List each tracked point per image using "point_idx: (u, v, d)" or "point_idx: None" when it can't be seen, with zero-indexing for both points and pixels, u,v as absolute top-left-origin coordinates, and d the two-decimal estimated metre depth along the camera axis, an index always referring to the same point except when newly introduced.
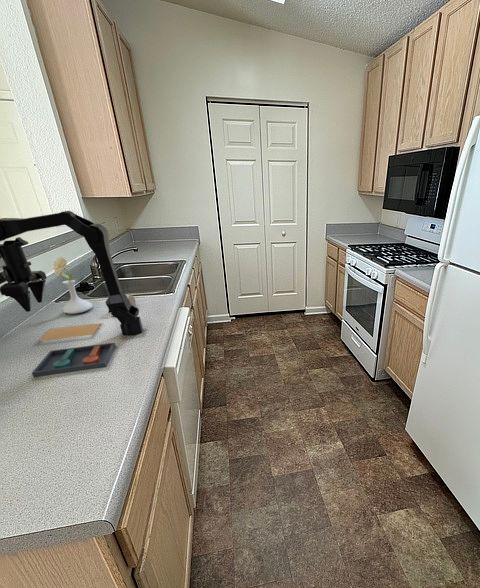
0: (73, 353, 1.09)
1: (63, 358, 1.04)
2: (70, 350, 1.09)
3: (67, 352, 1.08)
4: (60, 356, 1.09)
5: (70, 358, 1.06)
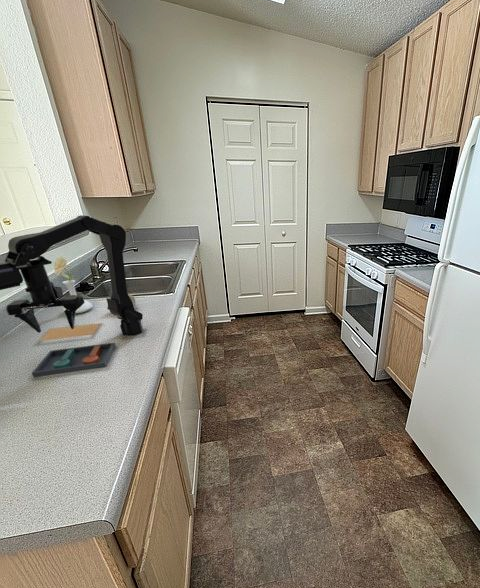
0: (73, 353, 1.09)
1: (63, 358, 1.04)
2: (70, 350, 1.09)
3: (67, 352, 1.08)
4: (60, 356, 1.09)
5: (70, 358, 1.06)
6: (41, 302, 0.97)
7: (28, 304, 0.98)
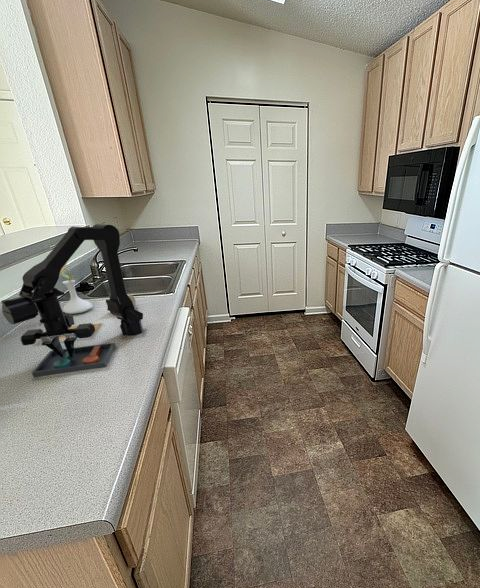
0: (73, 353, 1.09)
1: (63, 358, 1.04)
2: None
3: (67, 352, 1.08)
4: (60, 356, 1.09)
5: (70, 358, 1.06)
6: (54, 332, 1.00)
7: (41, 334, 1.02)
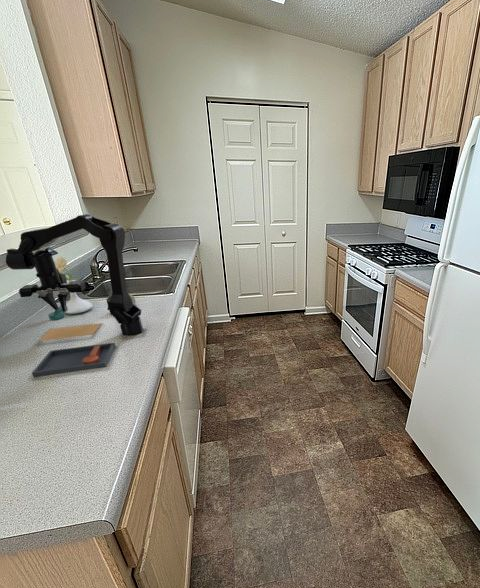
0: None
1: (57, 310, 1.17)
2: None
3: (60, 307, 1.21)
4: (60, 356, 1.09)
5: (63, 311, 1.20)
6: (49, 286, 1.14)
7: (37, 288, 1.15)
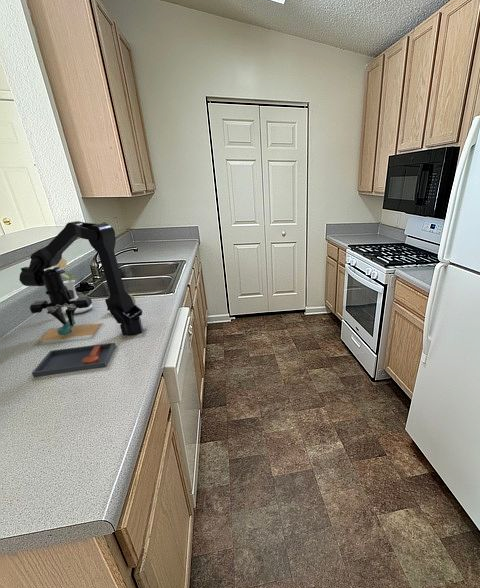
0: None
1: (65, 325, 1.24)
2: None
3: (68, 321, 1.28)
4: (60, 356, 1.09)
5: (71, 326, 1.26)
6: (58, 302, 1.20)
7: (47, 304, 1.22)
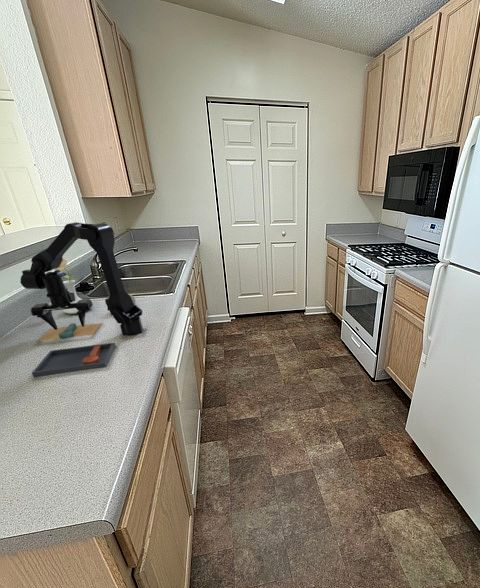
0: (75, 326, 1.30)
1: (66, 329, 1.25)
2: (72, 324, 1.30)
3: (70, 325, 1.28)
4: (60, 356, 1.09)
5: (72, 330, 1.27)
6: (58, 305, 1.21)
7: (48, 307, 1.22)
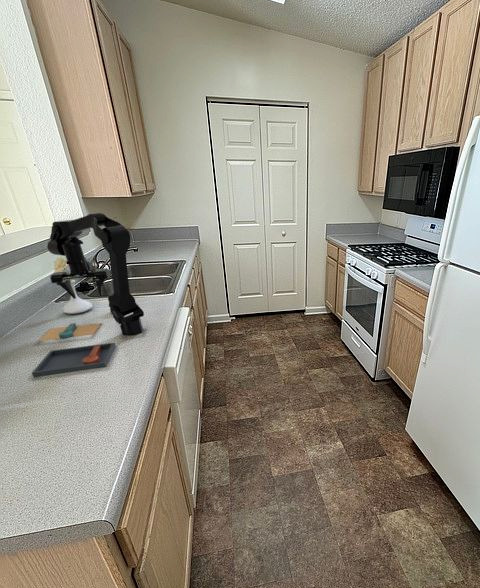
0: (75, 326, 1.30)
1: (66, 329, 1.25)
2: (72, 324, 1.30)
3: (70, 325, 1.28)
4: (60, 356, 1.09)
5: (72, 330, 1.27)
6: (78, 273, 1.22)
7: (67, 275, 1.23)
